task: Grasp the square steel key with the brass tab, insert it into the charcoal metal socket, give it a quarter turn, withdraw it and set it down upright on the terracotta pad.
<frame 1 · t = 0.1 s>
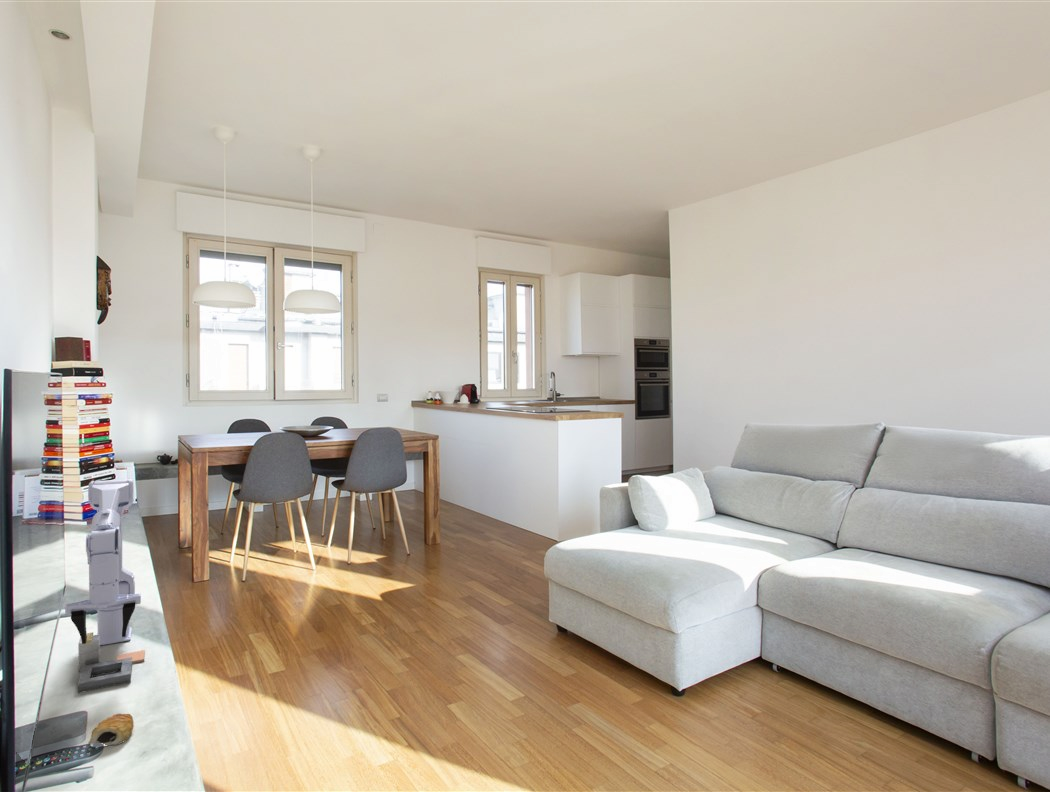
hand: (104, 638, 146), 10 cm above the tv stand, tool pointing down, fingers open, 7 cm apart
terracotta pad: (130, 659, 157), on the tv stand
pastry: (112, 738, 123), on the tv stand
charcoal socket: (106, 678, 147), on the tv stand
steel key: (89, 667, 153), on the tv stand
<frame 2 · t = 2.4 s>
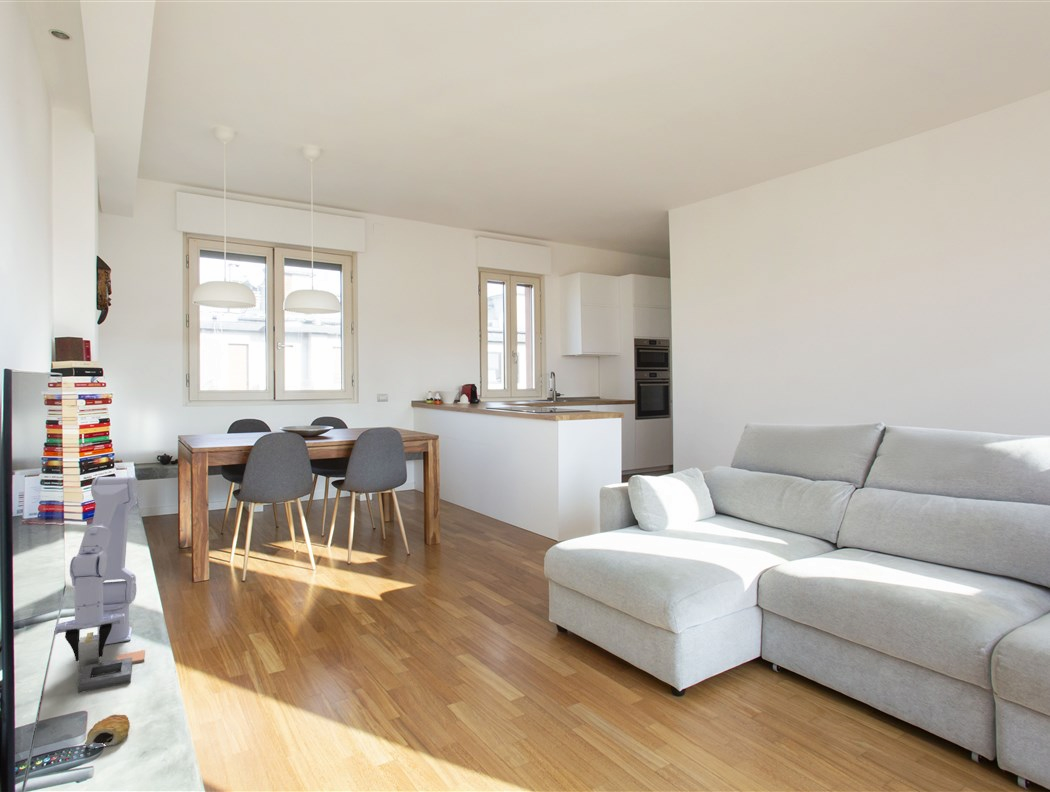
hand: (89, 657, 153), 2 cm above the tv stand, tool pointing down, fingers closed on steel key, 4 cm apart
steel key: (89, 667, 153), on the tv stand, touching gripper
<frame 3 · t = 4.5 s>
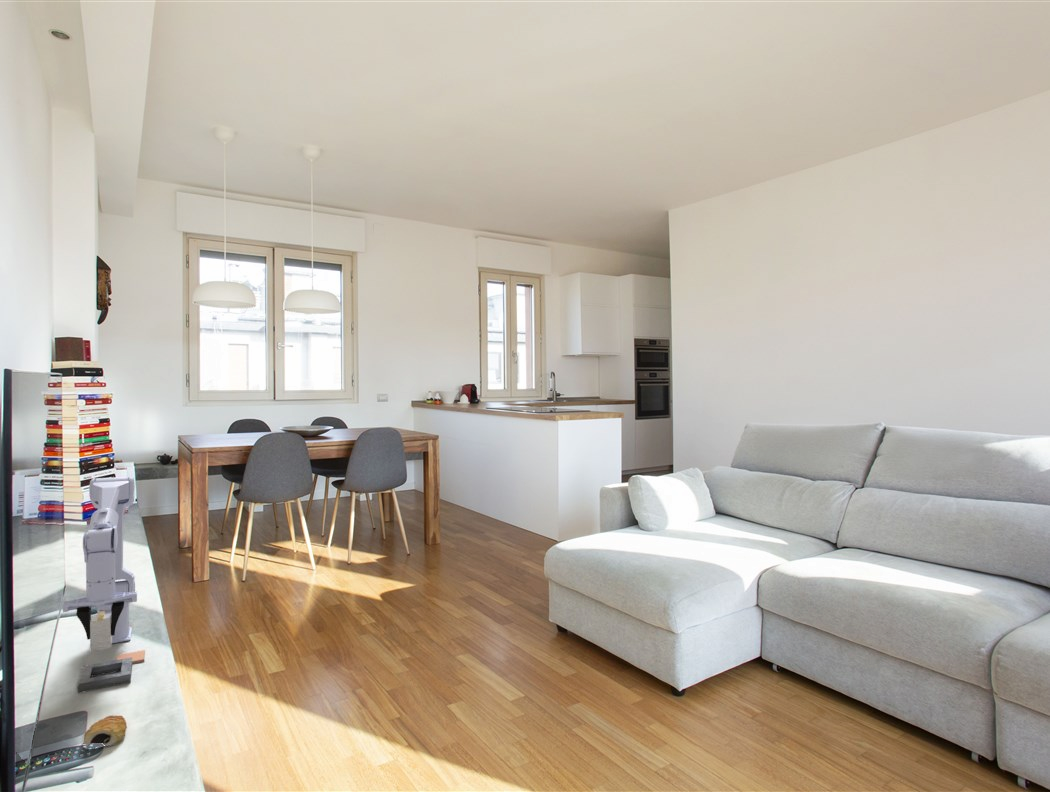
hand: (101, 636, 148), 10 cm above the tv stand, tool pointing down, fingers closed on steel key, 4 cm apart
steel key: (101, 646, 148), point 7 cm above the tv stand, touching gripper
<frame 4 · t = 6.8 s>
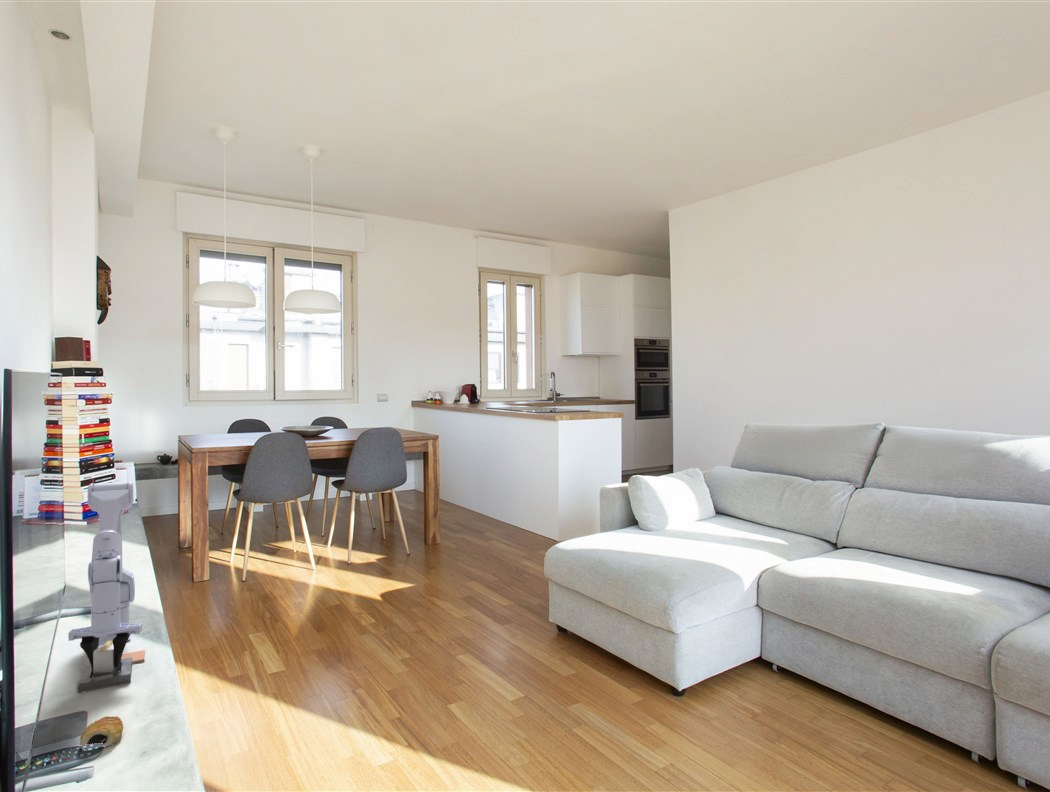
hand: (106, 666, 147), 3 cm above the tv stand, tool pointing down, fingers closed on steel key, 4 cm apart
steel key: (106, 676, 147), resting in charcoal socket, touching gripper
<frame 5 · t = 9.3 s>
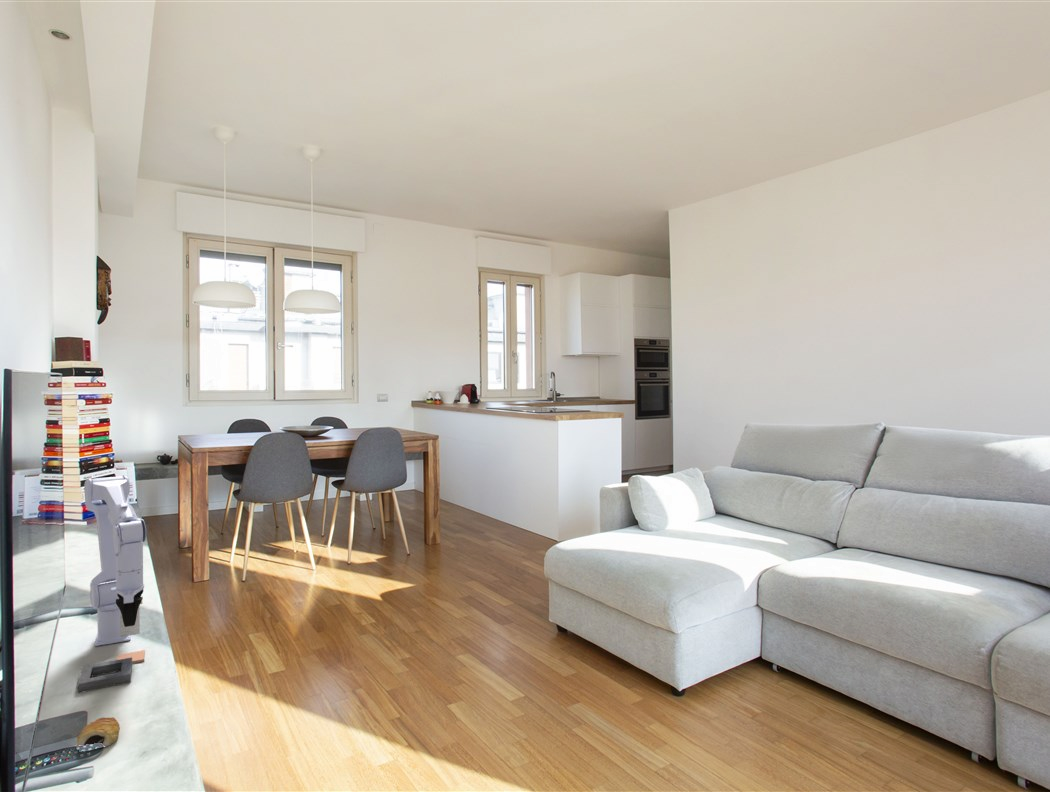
hand: (130, 622, 157), 9 cm above the tv stand, tool pointing down, fingers closed on steel key, 4 cm apart
steel key: (130, 632, 157), point 7 cm above the tv stand, touching gripper
when the fingers open (4 cm above the tv stand, at t = 11.3 s): steel key drops 1 cm, resting on terracotta pad.
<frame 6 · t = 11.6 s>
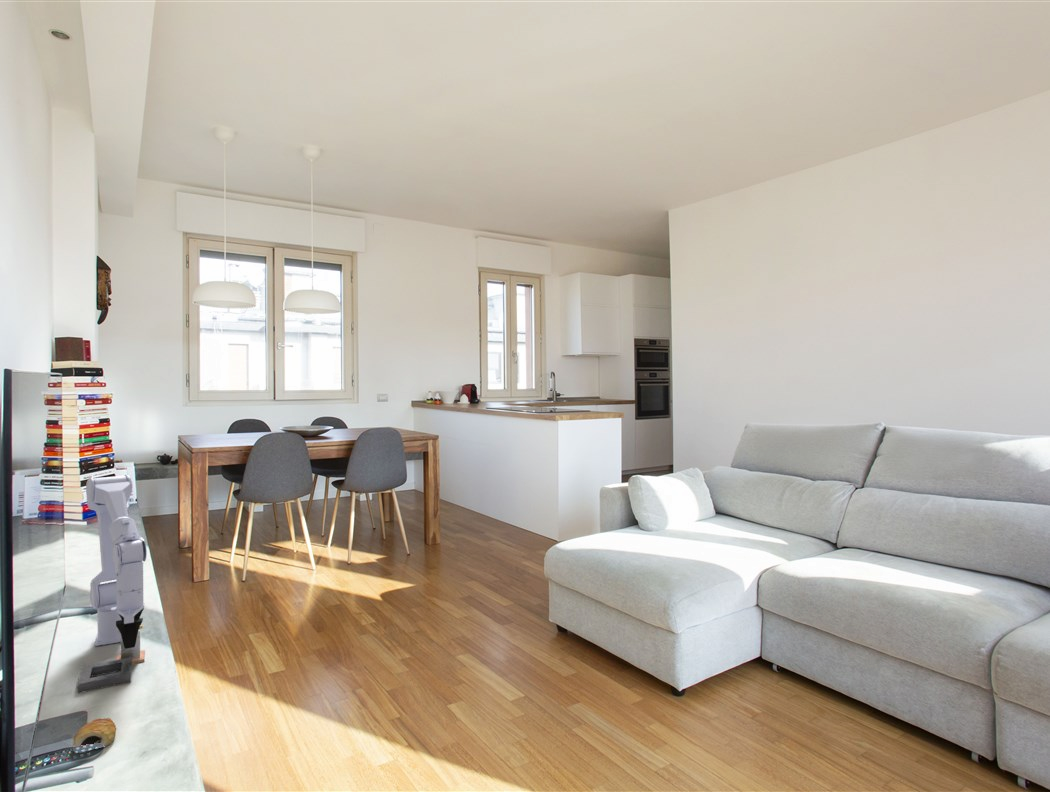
hand: (130, 642, 157), 4 cm above the tv stand, tool pointing down, fingers open, 7 cm apart
steel key: (130, 657, 157), point 1 cm above the tv stand, touching terracotta pad
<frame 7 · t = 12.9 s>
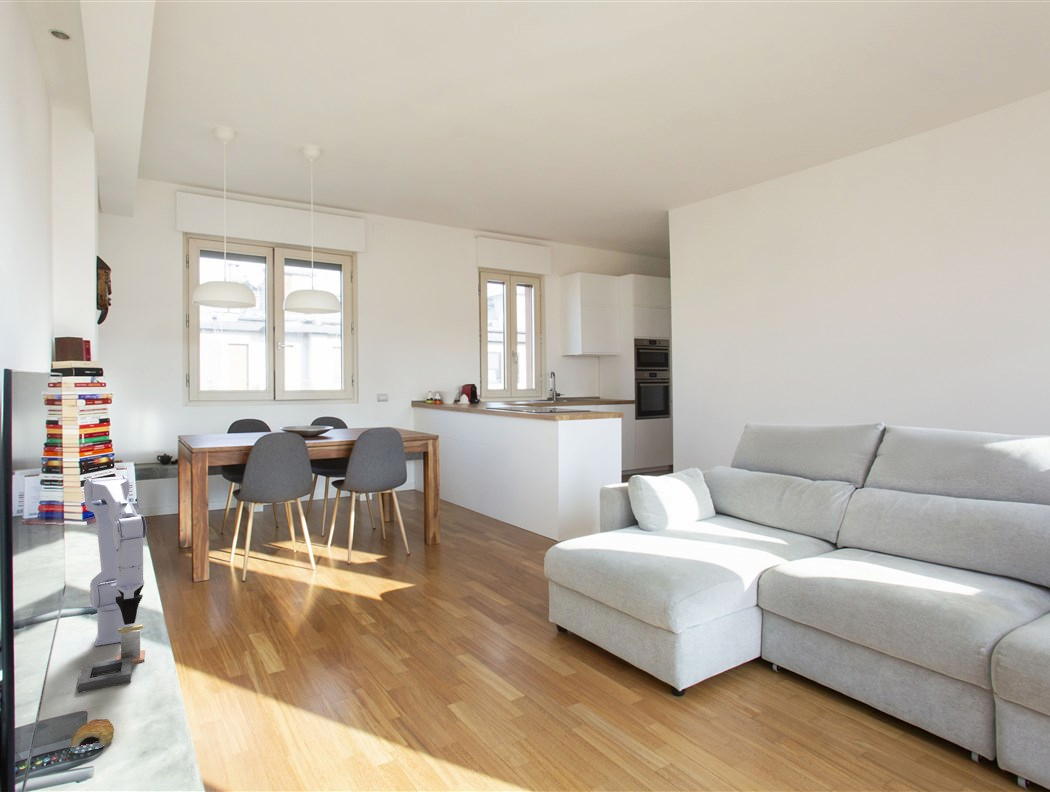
hand: (130, 618, 157), 10 cm above the tv stand, tool pointing down, fingers open, 7 cm apart
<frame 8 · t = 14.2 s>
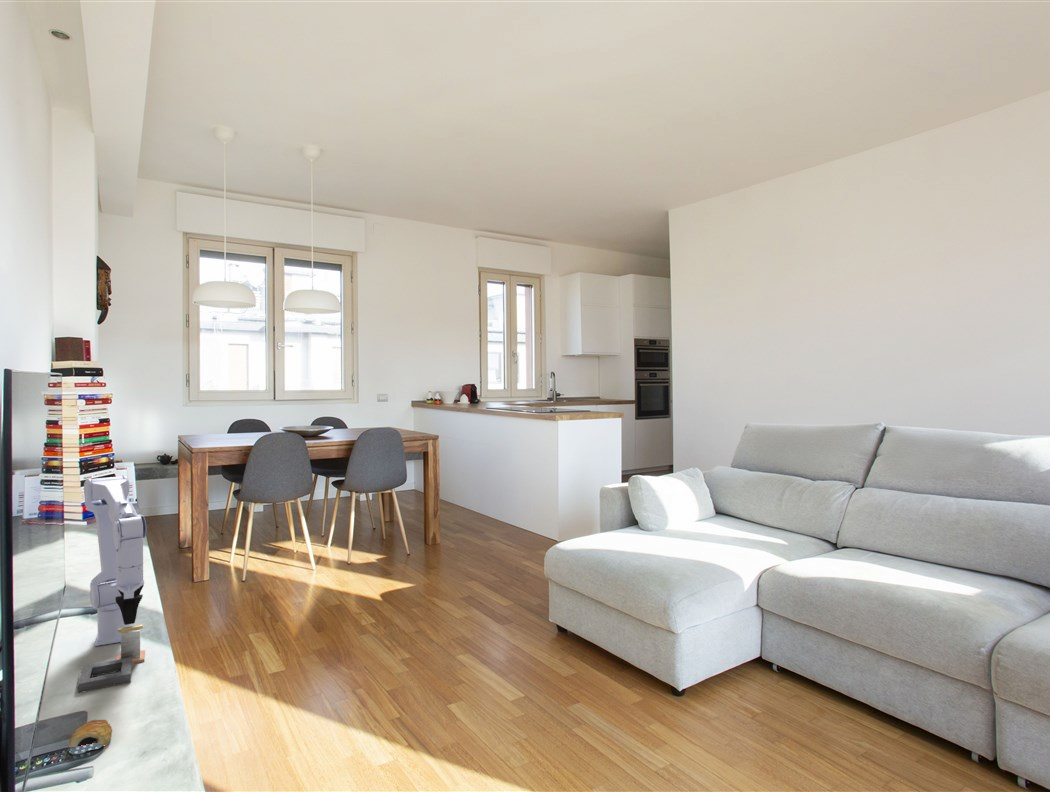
hand: (130, 618, 157), 10 cm above the tv stand, tool pointing down, fingers open, 7 cm apart
at the end: steel key 0.1 cm off-centre on the terracotta pad, point 0.6 cm above the terracotta pad's base; steel key tilted 0°; the gripper is holding nothing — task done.
